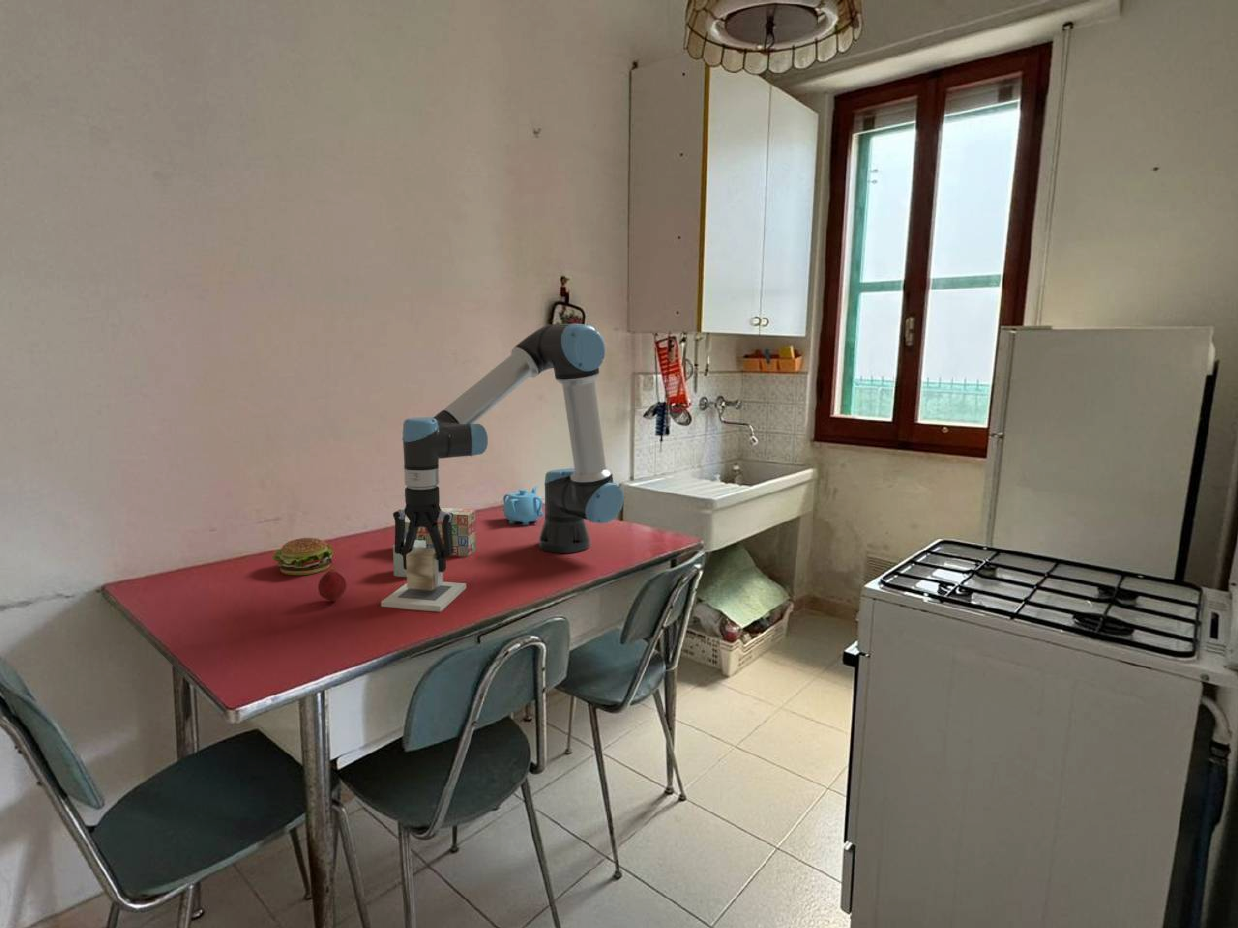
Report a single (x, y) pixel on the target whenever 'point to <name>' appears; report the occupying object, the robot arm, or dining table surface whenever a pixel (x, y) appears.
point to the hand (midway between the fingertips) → (425, 583)
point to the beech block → (421, 568)
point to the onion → (332, 585)
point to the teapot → (523, 506)
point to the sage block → (398, 559)
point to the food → (303, 556)
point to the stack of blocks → (453, 531)
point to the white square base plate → (424, 597)
